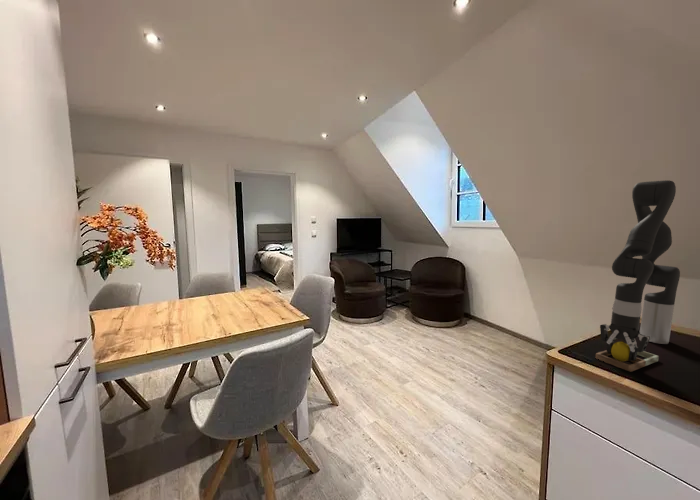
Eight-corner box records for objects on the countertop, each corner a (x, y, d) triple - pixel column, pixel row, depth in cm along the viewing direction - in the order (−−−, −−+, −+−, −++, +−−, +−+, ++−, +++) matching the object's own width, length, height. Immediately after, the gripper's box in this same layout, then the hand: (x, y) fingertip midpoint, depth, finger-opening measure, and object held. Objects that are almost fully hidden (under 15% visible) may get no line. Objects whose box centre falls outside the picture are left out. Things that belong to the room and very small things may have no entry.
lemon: (634, 366, 107) (636, 345, 106) (616, 364, 108) (618, 343, 107) (623, 359, 112) (626, 339, 111) (606, 357, 113) (608, 337, 112)
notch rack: (622, 349, 121) (623, 344, 121) (658, 361, 112) (658, 355, 111) (595, 358, 112) (595, 353, 112) (630, 371, 103) (631, 366, 103)
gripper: (658, 317, 103) (651, 364, 105) (607, 306, 116) (602, 347, 118) (647, 320, 100) (640, 368, 102) (597, 308, 113) (592, 350, 115)
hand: (620, 356), depth 110 cm, fingers closed on lemon, 5 cm apart
